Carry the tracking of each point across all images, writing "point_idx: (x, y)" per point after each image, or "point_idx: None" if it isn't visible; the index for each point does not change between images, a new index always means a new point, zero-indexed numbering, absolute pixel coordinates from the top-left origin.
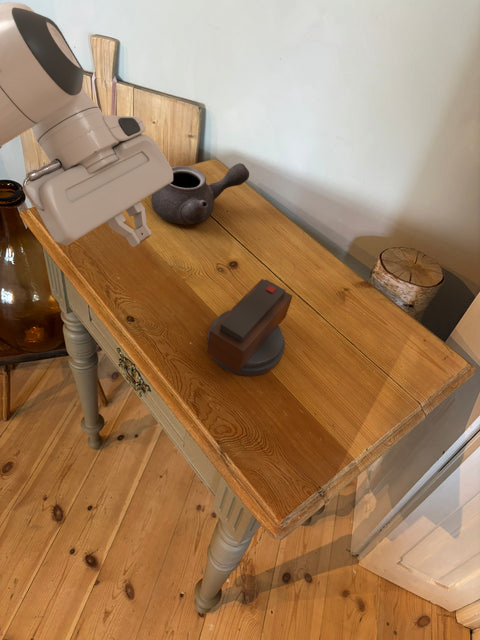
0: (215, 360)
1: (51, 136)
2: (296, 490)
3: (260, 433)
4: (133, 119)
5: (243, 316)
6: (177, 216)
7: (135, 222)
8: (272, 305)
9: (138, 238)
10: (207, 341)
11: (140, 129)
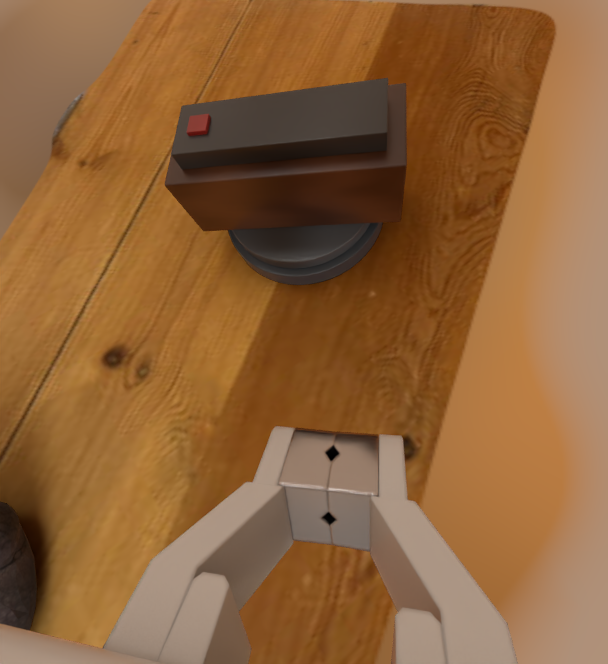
0: (380, 228)
1: None
2: (504, 20)
3: (458, 98)
4: None
5: (324, 114)
6: (10, 577)
7: (263, 572)
8: (245, 99)
9: (379, 448)
10: (350, 264)
11: None
